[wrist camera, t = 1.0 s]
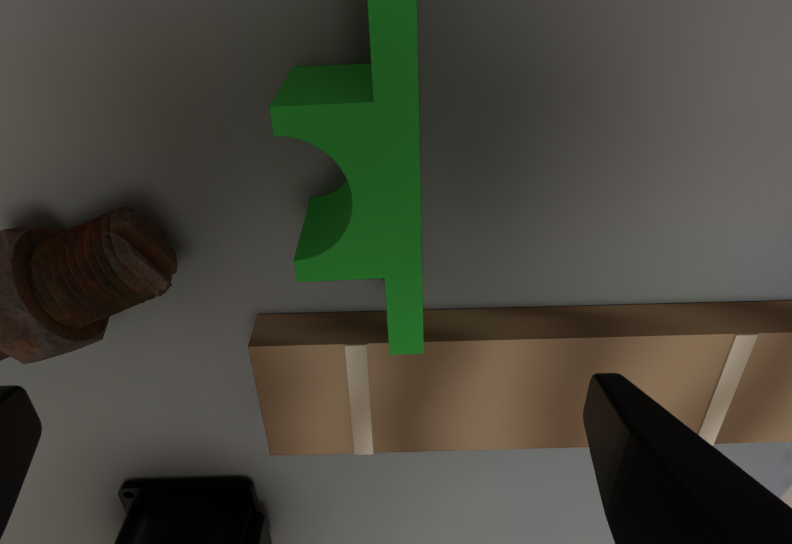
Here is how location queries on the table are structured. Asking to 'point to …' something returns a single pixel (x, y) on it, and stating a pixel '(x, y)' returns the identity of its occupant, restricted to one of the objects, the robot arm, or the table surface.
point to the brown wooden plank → (518, 375)
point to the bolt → (76, 281)
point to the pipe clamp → (365, 168)
